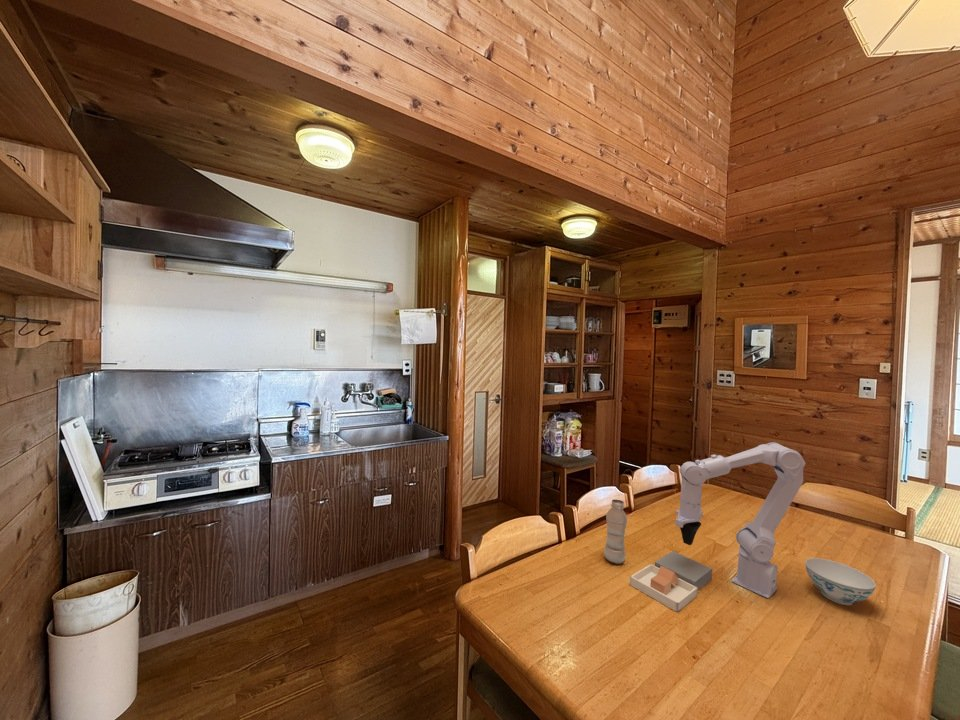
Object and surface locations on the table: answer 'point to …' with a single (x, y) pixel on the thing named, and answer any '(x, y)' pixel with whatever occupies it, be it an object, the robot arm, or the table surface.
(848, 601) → the chinaware
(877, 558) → the table surface
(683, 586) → the tray
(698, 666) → the table surface
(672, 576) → the orange brown block
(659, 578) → the terracotta block
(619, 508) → the plastic bottle
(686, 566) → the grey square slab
